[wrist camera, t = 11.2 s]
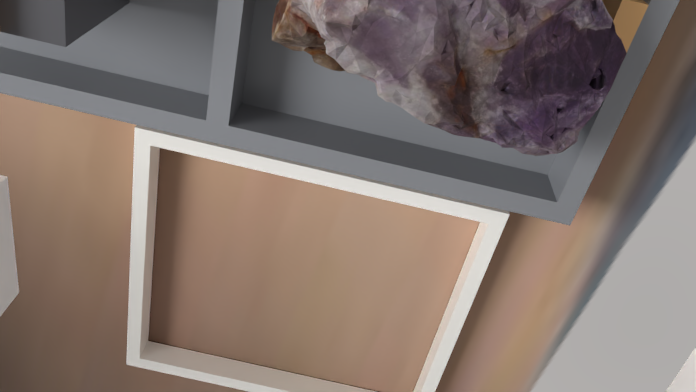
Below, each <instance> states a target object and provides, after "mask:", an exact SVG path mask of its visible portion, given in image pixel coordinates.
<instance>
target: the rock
mask: <svg viewBox="0 0 696 392" xmlns="http://www.w3.org/2000/svg"><path fill="white" fill-rule="evenodd" d="M272 41H274V42H277V43H280V44H281V45H283V46H285V47H287V48H289V49H291V50H293V51H305V52H307V53H309V54H310V55H312V58H313V61H314V62H315V63H317V64H319V65H321V66H323V67H325V68H328V69H331V70H334V71H346V72H347V73H351V74H357V75H360V76H361V77H363V78H365V79H367V80H369V81H371V82H373V83H375V85H376V89H377V94H378V96H379V97H381V98H382V99H383V100H385V101H386V102H392V103H394V104H395V105H397V106H399V107H401V108H403V109H404V110H406V111H407V112H408V113H410V114H411V115H413V116H414V117H415V118H417V119H418V120H420V121H422V122H423V123H425V124H428V125H431V126H433V127H436V128H439V129H442V130H444V131H446V132H448V133H450V134H453V135H457V136H463V137H471V138H480V139H483V140H486V141H491V142H494V143H496V144H498V145H500V146H501V147H502V148H514V149H516V150H517V151H519V152H520V153H522V154H527V155H534V156H542V155H549V154H558V153H561V152H563V151H565V150H566V149H568V148H569V147H570V146H572V145H573V144H575V143H576V142H577V140H578V136H579V132H580V130H581V129H582V128H583V127H584V126H585V125H586V123H587V122H588V121H589V120H590V119H591V118H592V116H593V115H594V114H595V112H596V111H597V110H598V109H599V107H600V106H601V104H602V103H603V101H604V99H605V98H606V96H607V94H608V93H609V91H610V89H611V87H612V85H613V82H614V80H615V78H616V76H617V73H618V71H619V69H620V67H621V65H622V62H623V60H624V58H625V56H626V54H627V53H626V50H625V48H624V45H623V43H622V40H621V39H620V37H619V36H618V35H617V34H616V30H615V25H614V23H613V19H612V17H611V16H610V14H609V13H608V12H607V10H606V7H605V5H604V3H603V1H602V0H279V2H278V3H277V5H276V9H275V13H274V17H273V25H272Z"/></svg>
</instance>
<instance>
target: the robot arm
mask: <svg viewBox="0 0 696 392" xmlns="http://www.w3.org/2000/svg"><path fill="white" fill-rule="evenodd" d="M18 293H19V285H18V275H17V265H16V256H15V246H14V236H13V226H12V216H11V206H10V196H9V186H8V176H3V175H0V316H1V315H2V314H3V312H4V311H5V310H6V309H7V307H8V306H9V305H10V304H11V302H12V301H13V300H14V299H15V297H16V296H17V295H18ZM666 392H696V347H695V349H694V350H693V352H692V353H691V355H690V356H689V358H688V359H687V361H686V362H685V363H684V365H683V367H682V368H681V369H680V371H679V373H678V374H677V375H676V377H675V378H674V380H673V381H672V383H671V384H670V386H669V387H668V389H667V390H666Z"/></svg>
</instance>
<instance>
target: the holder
mask: <svg viewBox="0 0 696 392" xmlns="http://www.w3.org/2000/svg"><path fill="white" fill-rule="evenodd" d="M602 1H603V3H604V5H605V7H606V10H607V12H608V13H609V14H610V16H611V17H612V19H613V23H614V25H615V30H616V34H617V35H618V36H619V37H620V39H621V40H622V43H623V45H624V48H625V50H626V53H627V54H626V56H625V58H624V60H623V62H622V65H621V67H620V69H619V71H618V73H617V76H616V78H615V80H614V82H613V85H612V87H611V89H610V91H609V93H608V94H607V96H606V98H605V99H604V101H603V103H602V104H601V106H600V107H599V109H598V110H597V111H596V112H595V114H594V115H593V116H592V118H591V119H590V120H589V121H588V122H587V123H586V125H585V126H584V127H583V128H582V129H581V130H580V132H579V136H578V140H577V142H576V143H575V144H573V145H572V146H570V147H569V148H568V149H566V150H565V151H563V152H561V153H558V154H549V155H542V156H534V155H527V154H522V153H520V152H519V151H517V150H516V149H514V148H502V147H501V146H500V145H498V144H496V143H494V142H491V141H486V140H483V139H480V138H471V137H463V136H457V135H453V134H450V133H448V132H446V131H444V130H442V129H439V128H436V127H433V126H431V125H428V124H425V123H423V122H422V121H420V120H418V119H417V118H415V117H414V116H413V115H411V114H410V113H408V112H407V111H406V110H404V109H403V108H401V107H399V106H397V105H395V104H394V103H392V102H386V101H385V100H383V99H382V98H381V97H379V96H378V94H377V89H376V85H375V83H373V82H371V81H369V80H367V79H365V78H363V77H361V76H360V75H357V74H351V73H347V72H346V71H334V70H331V69H328V68H325V67H323V66H321V65H319V64H317V63H315V62H314V61H313V58H312V55H310V54H309V53H307V52H305V51H293V50H291V49H289V48H287V47H285V46H283V45H281V44H280V43H277V42H274V41H272V25H273V17H274V13H275V9H276V5H277V3H278V2H279V0H0V93H2V94H7V95H11V96H15V97H20V98H24V99H28V100H32V101H37V102H41V103H45V104H50V105H54V106H58V107H63V108H67V109H71V110H76V111H80V112H84V113H88V114H93V115H97V116H101V117H106V118H110V119H114V120H119V121H123V122H127V123H131V124H136V125H140V126H144V127H149V128H153V129H157V130H162V131H166V132H170V133H174V134H179V135H183V136H187V137H192V138H196V139H200V140H205V141H209V142H213V143H218V144H222V145H226V146H230V147H235V148H239V149H243V150H248V151H252V152H256V153H261V154H265V155H269V156H273V157H278V158H282V159H286V160H291V161H295V162H299V163H304V164H308V165H312V166H316V167H321V168H325V169H329V170H334V171H338V172H342V173H347V174H351V175H355V176H360V177H364V178H368V179H372V180H377V181H381V182H385V183H390V184H394V185H398V186H403V187H407V188H411V189H415V190H420V191H424V192H428V193H433V194H437V195H441V196H446V197H450V198H454V199H459V200H463V201H467V202H471V203H476V204H480V205H484V206H489V207H493V208H497V209H502V210H506V211H510V212H514V213H519V214H523V215H527V216H532V217H536V218H540V219H545V220H549V221H553V222H557V223H562V224H566V225H570V224H571V222H572V220H573V218H574V216H575V214H576V212H577V210H578V208H579V206H580V204H581V202H582V200H583V198H584V196H585V194H586V192H587V190H588V188H589V185H590V183H591V181H592V179H593V177H594V175H595V173H596V171H597V169H598V167H599V165H600V163H601V161H602V159H603V157H604V155H605V153H606V151H607V149H608V147H609V144H610V142H611V140H612V138H613V136H614V134H615V132H616V130H617V128H618V126H619V124H620V122H621V120H622V118H623V116H624V114H625V112H626V110H627V108H628V105H629V103H630V101H631V99H632V97H633V95H634V93H635V91H636V89H637V87H638V85H639V83H640V81H641V79H642V77H643V75H644V73H645V71H646V69H647V66H648V64H649V62H650V60H651V58H652V56H653V54H654V52H655V50H656V48H657V46H658V44H659V42H660V40H661V38H662V36H663V34H664V32H665V30H666V28H667V25H668V23H669V21H670V19H671V17H672V15H673V13H674V11H675V9H676V7H677V5H678V3H679V1H680V0H602Z"/></svg>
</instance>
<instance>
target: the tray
mask: <svg viewBox="0 0 696 392" xmlns="http://www.w3.org/2000/svg"><path fill="white" fill-rule="evenodd" d="M160 148H163V149H168V150H172V151H176V152H181V153H185V154H189V155H193V156H198V157H202V158H206V159H211V160H215V161H219V162H224V163H228V164H232V165H237V166H241V167H245V168H250V169H254V170H258V171H263V172H267V173H271V174H276V175H280V176H284V177H289V178H293V179H297V180H301V181H306V182H310V183H314V184H319V185H323V186H327V187H332V188H336V189H340V190H345V191H349V192H353V193H358V194H362V195H366V196H371V197H375V198H379V199H384V200H388V201H392V202H396V203H401V204H405V205H409V206H414V207H418V208H422V209H427V210H431V211H435V212H440V213H444V214H448V215H453V216H457V217H461V218H466V219H470V220H474V221H479V222H480V224H479V226H478V229H477V231H476V234H475V236H474V239H473V241H472V244H471V247H470V249H469V252H468V254H467V257H466V259H465V262H464V264H463V267H462V269H461V272H460V275H459V277H458V280H457V282H456V285H455V287H454V290H453V292H452V295H451V297H450V300H449V302H448V305H447V308H446V310H445V313H444V315H443V318H442V320H441V323H440V325H439V328H438V330H437V333H436V336H435V338H434V341H433V343H432V346H431V348H430V351H429V353H428V356H427V358H426V361H425V363H424V366H423V369H422V371H421V374H420V376H419V379H418V381H417V384H416V386H415V389H414V391H413V392H435V391H436V388H437V386H438V384H439V381H440V379H441V376H442V374H443V372H444V369H445V367H446V365H447V362H448V360H449V357H450V355H451V353H452V350H453V348H454V346H455V343H456V341H457V338H458V336H459V334H460V331H461V329H462V327H463V324H464V322H465V319H466V317H467V315H468V312H469V310H470V308H471V305H472V303H473V300H474V298H475V296H476V293H477V291H478V288H479V286H480V284H481V281H482V279H483V277H484V274H485V272H486V269H487V267H488V265H489V262H490V260H491V258H492V255H493V253H494V250H495V248H496V246H497V243H498V241H499V239H500V236H501V234H502V231H503V229H504V227H505V224H506V222H507V220H508V217H509V215H510V214H509V211H506V210H502V209H497V208H493V207H489V206H484V205H480V204H476V203H471V202H467V201H463V200H459V199H454V198H450V197H446V196H441V195H437V194H433V193H428V192H424V191H420V190H415V189H411V188H407V187H403V186H398V185H394V184H390V183H385V182H381V181H377V180H372V179H368V178H364V177H360V176H355V175H351V174H347V173H342V172H338V171H334V170H329V169H325V168H321V167H316V166H312V165H308V164H304V163H299V162H295V161H291V160H286V159H282V158H278V157H273V156H269V155H265V154H261V153H256V152H252V151H248V150H243V149H239V148H235V147H230V146H226V145H222V144H218V143H213V142H209V141H205V140H200V139H196V138H192V137H187V136H183V135H179V134H174V133H170V132H166V131H162V130H157V129H153V128H149V127H144V126H140V125H136V126H135V135H134V163H133V191H132V219H131V246H130V274H129V302H128V330H127V358H126V365H131V366H135V367H140V368H144V369H149V370H153V371H158V372H162V373H167V374H171V375H176V376H181V377H185V378H190V379H194V380H199V381H203V382H208V383H212V384H217V385H221V386H226V387H230V388H235V389H239V390H244V391H248V392H376V391H372V390H367V389H363V388H358V387H354V386H349V385H345V384H340V383H336V382H331V381H327V380H322V379H318V378H313V377H309V376H304V375H300V374H295V373H291V372H286V371H282V370H277V369H273V368H268V367H264V366H259V365H255V364H250V363H246V362H241V361H237V360H232V359H228V358H223V357H219V356H214V355H210V354H205V353H201V352H196V351H192V350H187V349H183V348H178V347H174V346H169V345H165V344H160V343H156V342H151V341H148V338H149V321H150V305H151V288H152V272H153V255H154V239H155V222H156V206H157V189H158V173H159V156H160Z"/></svg>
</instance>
